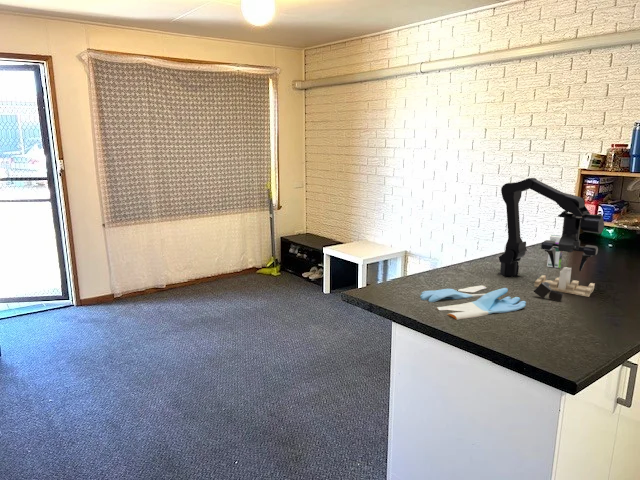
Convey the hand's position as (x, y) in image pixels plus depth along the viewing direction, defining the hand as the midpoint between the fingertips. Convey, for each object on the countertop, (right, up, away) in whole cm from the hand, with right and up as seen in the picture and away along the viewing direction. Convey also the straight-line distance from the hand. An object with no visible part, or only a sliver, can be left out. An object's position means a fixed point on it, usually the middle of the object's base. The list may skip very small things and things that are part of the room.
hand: (566, 269), depth 180 cm
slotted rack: (0, -7, +2) cm, 8 cm away
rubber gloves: (-42, -11, -14) cm, 45 cm away
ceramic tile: (0, -7, +1) cm, 7 cm away
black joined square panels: (-13, -10, -11) cm, 20 cm away
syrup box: (+12, -1, +34) cm, 36 cm away
